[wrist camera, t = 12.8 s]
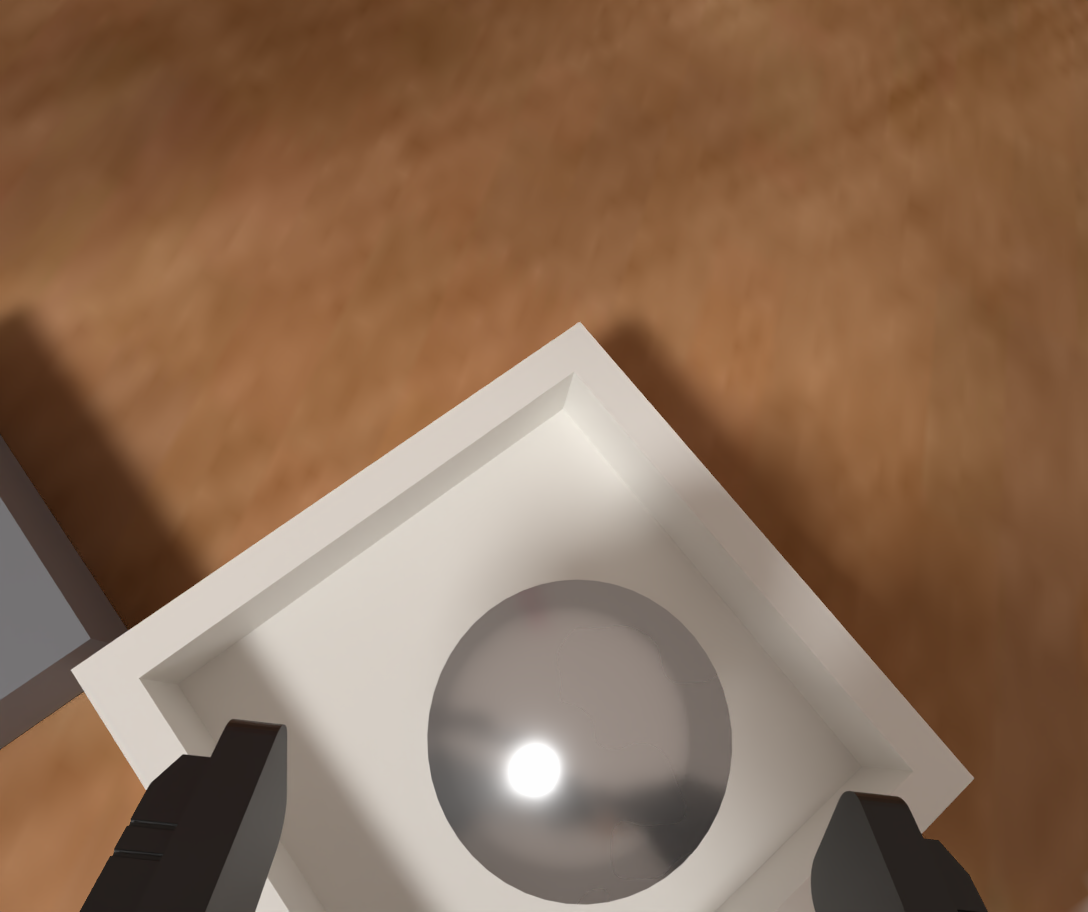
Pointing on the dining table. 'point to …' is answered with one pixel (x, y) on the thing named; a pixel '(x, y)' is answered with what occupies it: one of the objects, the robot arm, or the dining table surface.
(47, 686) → the socket block
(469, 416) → the tray
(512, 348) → the dining table surface
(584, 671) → the pin
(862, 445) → the dining table surface
